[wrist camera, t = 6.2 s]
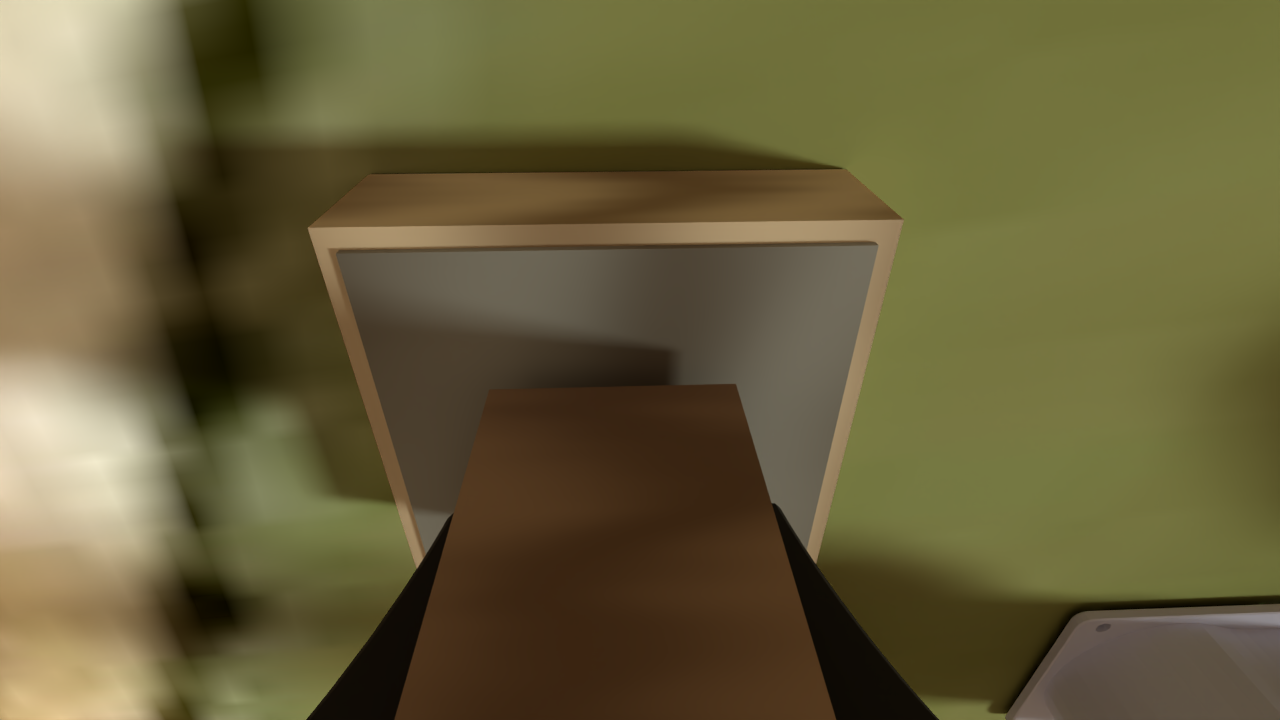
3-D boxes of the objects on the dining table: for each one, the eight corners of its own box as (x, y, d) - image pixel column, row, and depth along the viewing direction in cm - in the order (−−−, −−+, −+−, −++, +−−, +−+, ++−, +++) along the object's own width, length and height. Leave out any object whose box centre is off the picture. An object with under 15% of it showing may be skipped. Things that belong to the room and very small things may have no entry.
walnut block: (735, 383, 11) (843, 748, 6) (718, 546, 13) (783, 901, 8) (488, 389, 11) (380, 769, 6) (517, 552, 13) (458, 918, 8)
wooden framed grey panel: (846, 169, 13) (907, 222, 10) (783, 500, 18) (812, 590, 16) (368, 174, 12) (304, 231, 10) (452, 510, 18) (424, 603, 15)
